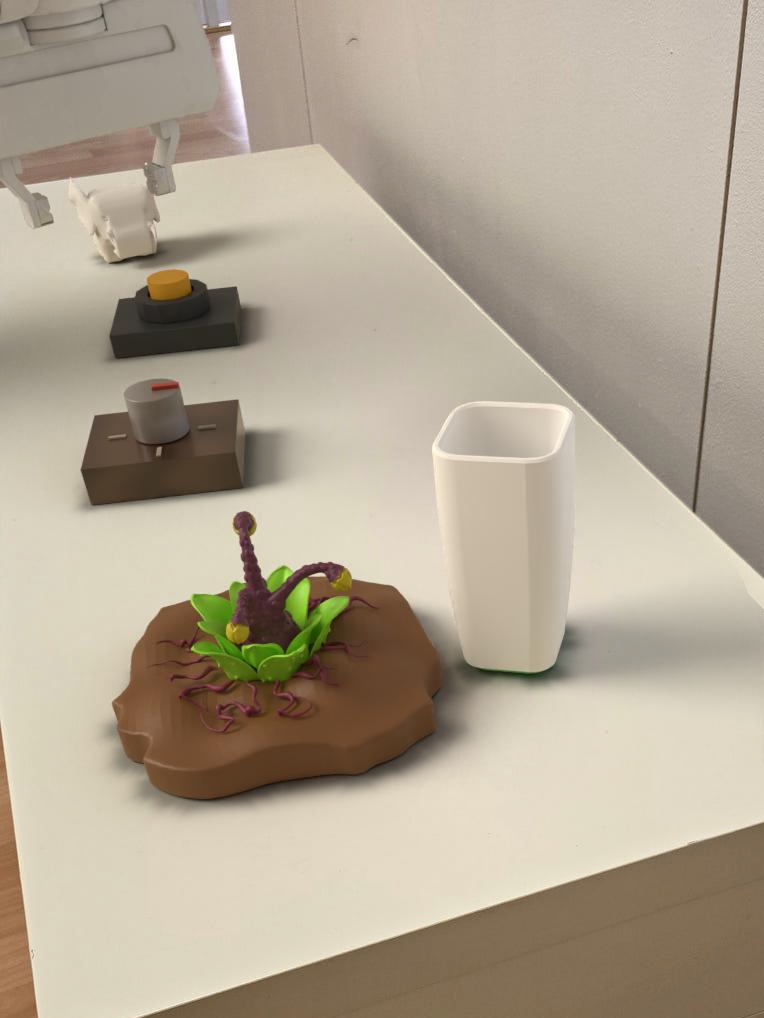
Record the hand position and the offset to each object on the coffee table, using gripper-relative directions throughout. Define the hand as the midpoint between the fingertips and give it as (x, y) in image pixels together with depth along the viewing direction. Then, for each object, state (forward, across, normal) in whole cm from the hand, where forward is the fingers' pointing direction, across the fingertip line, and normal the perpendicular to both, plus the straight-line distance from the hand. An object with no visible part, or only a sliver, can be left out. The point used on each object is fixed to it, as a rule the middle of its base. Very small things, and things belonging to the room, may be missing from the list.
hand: (103, 208), depth 87 cm
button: (+16, -14, -26) cm, 34 cm away
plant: (+20, +9, +33) cm, 40 cm away
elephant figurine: (+20, -21, -51) cm, 59 cm away
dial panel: (+20, 0, 0) cm, 20 cm away
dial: (+17, 0, 0) cm, 17 cm away
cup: (+20, -5, +40) cm, 45 cm away
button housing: (+20, -14, -26) cm, 36 cm away
